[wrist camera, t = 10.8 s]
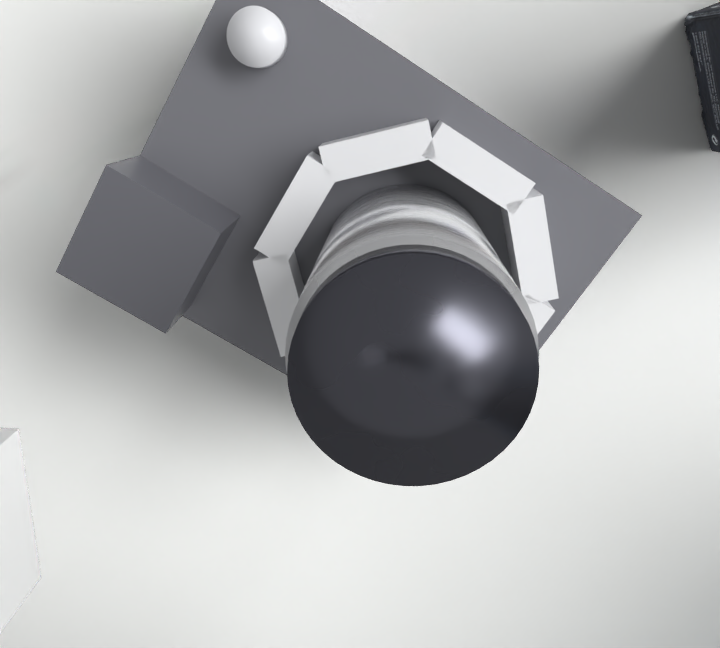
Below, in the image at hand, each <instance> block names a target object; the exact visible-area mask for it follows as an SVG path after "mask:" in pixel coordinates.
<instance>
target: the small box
mask: <svg viewBox="0 0 720 648" xmlns="http://www.w3.org/2000/svg"><path fill="white" fill-rule="evenodd" d="M684 25H685V26H686V31H685V32H686V35H687V38H688V40H689V42H690V45H691V56H692V57H693V61H694V67H695V72H696V77H697V83H698V87H699V96H700V99H701V105H702V118H703V122H704V125H705V129H706V132H707V136H708V139H709V144H710V148H711V150H712V151H716V152H720V2H719V3H716V4H714V5H711V6H709V7H706V8H704V9H701V10H698V11H695V12H692V13H689V14H688V15H687V18H686V19H685V23H684Z"/></svg>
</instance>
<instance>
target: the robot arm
mask: <svg viewBox="0 0 720 648" xmlns="http://www.w3.org/2000/svg"><path fill="white" fill-rule="evenodd" d="M40 578H41V571H40V564H39V558H38V551H37V544H36V538H35V531H34V525H33V518H32V511H31V505H30V498H29V492H28V485H27V479H26V472H25V465H24V459H23V452H22V446H21V439H20V433H19V429H17V428H0V633H1V632H2V631H3V629H4V628H5V627H6V625H7V624H8V622H9V621H10V620H11V618H12V617H13V616H14V614H15V613H16V611H17V610H18V609H19V607H20V606H21V605H22V603H23V602H24V600H25V599H26V598H27V596H28V595H29V594H30V592H31V591H32V589H33V588H34V587H35V585H36V584H37V583H38V581H39V580H40Z"/></svg>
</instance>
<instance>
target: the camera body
mask: <svg viewBox="0 0 720 648" xmlns="http://www.w3.org/2000/svg"><path fill="white" fill-rule="evenodd" d="M396 184H416V185H423V186H427V187H431V188H434V189H436V190H439V191H441V192H443V193H445V194H447V195H449V196H451V197H452V198H454V199H455V200H456V201H458V202H459V203H460V204H461V205H462V206H463V207H464V208H465V209H466V210H467V211H468V212H469V213H470V214H471V215H472V217H473V218H474V219H475V221H476V222H477V224H478V225H479V227H480V229H481V230H482V232H483V233H484V235H485V236H486V238H487V240H488V241H489V243H490V244H491V246H492V247H493V249H494V251H495V252H496V254H497V255H498V257H499V258H500V260H501V262H502V263H503V265H504V266H505V268H506V269H507V271H508V273H509V274H510V276H511V277H512V279H513V280H514V282H515V284H516V285H517V287H518V288H519V290H520V291H521V293H522V295H523V297H524V298H525V300H526V302H527V304H528V306H529V308H530V311H531V313H532V316H533V319H534V322H535V326H536V330H537V335H538V345H539V349H540V348H541V347H542V345H543V344H544V343H545V342H546V340H547V339H548V338H549V336H550V335H551V334H552V332H553V331H554V330H555V329H556V327H557V326H558V325H559V323H560V322H561V321H562V319H563V318H564V317H565V315H566V314H567V313H568V312H569V310H570V309H571V308H572V306H573V305H574V304H575V302H576V301H577V300H578V298H579V297H580V296H581V295H582V293H583V292H584V291H585V289H586V288H587V287H588V285H589V284H590V283H591V282H592V280H593V279H594V278H595V276H596V275H597V274H598V272H599V271H600V270H601V268H602V267H603V266H604V265H605V263H606V262H607V261H608V259H609V258H610V257H611V255H612V254H613V253H614V251H615V250H616V249H617V248H618V246H619V245H620V244H621V242H622V241H623V240H624V238H625V237H626V236H627V234H628V233H629V232H630V231H631V229H632V228H633V227H634V225H635V224H636V223H637V221H638V220H639V219H640V218H641V216H642V215H641V214H639V213H638V212H636V211H635V210H633V209H632V208H630V207H629V206H627V205H626V204H624V203H623V202H621V201H620V200H618V199H617V198H615V197H614V196H612V195H611V194H609V193H608V192H606V191H605V190H603V189H602V188H600V187H598V186H597V185H595V184H594V183H592V182H591V181H589V180H588V179H586V178H585V177H583V176H582V175H580V174H579V173H577V172H576V171H574V170H573V169H571V168H570V167H568V166H567V165H565V164H564V163H562V162H561V161H559V160H558V159H556V158H555V157H553V156H552V155H550V154H549V153H547V152H546V151H544V150H543V149H541V148H540V147H538V146H537V145H535V144H534V143H532V142H531V141H529V140H528V139H526V138H525V137H523V136H522V135H520V134H519V133H517V132H516V131H514V130H513V129H511V128H510V127H508V126H507V125H505V124H504V123H502V122H501V121H499V120H498V119H496V118H495V117H493V116H492V115H490V114H489V113H487V112H486V111H484V110H483V109H481V108H480V107H478V106H477V105H475V104H474V103H472V102H471V101H469V100H468V99H466V98H465V97H463V96H462V95H460V94H459V93H457V92H456V91H454V90H453V89H451V88H450V87H448V86H447V85H445V84H444V83H442V82H441V81H439V80H438V79H436V78H435V77H433V76H432V75H430V74H429V73H427V72H426V71H424V70H423V69H421V68H420V67H418V66H417V65H415V64H414V63H412V62H411V61H409V60H408V59H406V58H405V57H403V56H402V55H400V54H399V53H397V52H396V51H394V50H393V49H391V48H390V47H388V46H387V45H385V44H384V43H382V42H381V41H379V40H378V39H376V38H375V37H373V36H372V35H370V34H369V33H367V32H366V31H364V30H363V29H361V28H360V27H358V26H357V25H355V24H354V23H352V22H351V21H349V20H348V19H346V18H345V17H343V16H342V15H340V14H339V13H337V12H336V11H334V10H333V9H331V8H330V7H328V6H327V5H325V4H324V3H322V2H321V1H319V0H216V1H215V3H214V5H213V7H212V9H211V11H210V13H209V15H208V17H207V19H206V21H205V24H204V26H203V28H202V30H201V32H200V34H199V36H198V38H197V40H196V42H195V44H194V46H193V48H192V50H191V52H190V54H189V56H188V58H187V60H186V63H185V65H184V67H183V69H182V71H181V73H180V75H179V77H178V79H177V81H176V83H175V85H174V87H173V89H172V91H171V93H170V95H169V97H168V99H167V101H166V104H165V106H164V108H163V110H162V112H161V114H160V116H159V118H158V120H157V122H156V124H155V126H154V128H153V130H152V132H151V134H150V136H149V138H148V140H147V142H146V145H145V147H144V149H143V151H142V153H141V155H140V156H137V157H133V158H129V159H126V160H122V161H119V162H115V163H111V164H108V165H106V167H105V169H104V171H103V173H102V175H101V178H100V180H99V182H98V184H97V186H96V188H95V190H94V192H93V194H92V197H91V199H90V201H89V203H88V205H87V207H86V209H85V211H84V213H83V216H82V218H81V220H80V222H79V224H78V226H77V228H76V230H75V233H74V235H73V237H72V239H71V241H70V243H69V245H68V247H67V249H66V252H65V254H64V256H63V258H62V260H61V262H60V264H59V266H58V268H57V271H56V272H57V273H59V274H61V275H63V276H65V277H66V278H68V279H70V280H72V281H73V282H75V283H77V284H79V285H81V286H82V287H84V288H86V289H88V290H89V291H91V292H93V293H95V294H97V295H98V296H100V297H102V298H104V299H105V300H107V301H109V302H111V303H113V304H114V305H116V306H118V307H120V308H121V309H123V310H125V311H127V312H129V313H130V314H132V315H134V316H136V317H137V318H139V319H141V320H143V321H144V322H146V323H148V324H150V325H152V326H153V327H155V328H157V329H159V330H160V331H162V332H164V333H167V332H168V331H169V329H170V328H171V327H172V326H173V325H174V324H175V323H176V322H177V321H178V319H179V318H180V317H181V316H184V317H186V318H188V319H189V320H191V321H193V322H195V323H196V324H198V325H200V326H202V327H203V328H205V329H207V330H209V331H210V332H212V333H214V334H216V335H217V336H219V337H221V338H223V339H224V340H226V341H228V342H230V343H231V344H233V345H235V346H237V347H238V348H240V349H242V350H244V351H245V352H247V353H249V354H251V355H253V356H254V357H256V358H258V359H260V360H261V361H263V362H265V363H267V364H268V365H270V366H272V367H274V368H275V369H277V370H279V371H281V372H282V373H284V374H286V375H287V371H286V361H285V347H286V337H287V332H288V327H289V323H290V320H291V318H292V315H293V312H294V309H295V307H296V305H297V303H298V300H299V298H300V296H301V294H302V292H303V290H304V287H305V285H306V283H307V281H308V279H309V276H310V274H311V272H312V270H313V268H314V265H315V263H316V261H317V259H318V257H319V255H320V252H321V250H322V248H323V246H324V244H325V241H326V239H327V237H328V235H329V233H330V231H331V229H332V227H333V225H334V223H335V222H336V220H337V219H338V218H339V216H340V215H341V214H342V213H343V212H344V211H345V209H346V208H347V207H348V206H349V205H351V204H352V203H353V202H354V201H356V200H357V199H358V198H360V197H362V196H363V195H365V194H367V193H369V192H371V191H373V190H376V189H378V188H382V187H385V186H390V185H396Z"/></svg>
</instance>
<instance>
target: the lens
mask: <svg viewBox="0 0 720 648" xmlns="http://www.w3.org/2000/svg"><path fill="white" fill-rule="evenodd" d="M538 360H539V345H538V335H537V330H536V326H535V322H534V319H533V316H532V313H531V311H530V308H529V306H528V304H527V302H526V300H525V298H524V297H523V295H522V293H521V291H520V290H519V288H518V287H517V285H516V284H515V282H514V280H513V279H512V277H511V276H510V274H509V273H508V271H507V269H506V268H505V266H504V265H503V263H502V262H501V260H500V258H499V257H498V255H497V254H496V252H495V251H494V249H493V247H492V246H491V244H490V243H489V241H488V240H487V238H486V236H485V235H484V233H483V232H482V230H481V229H480V227H479V225H478V224H477V222H476V221H475V219H474V218H473V217H472V215H471V214H470V213H469V212H468V211H467V210H466V209H465V208H464V207H463V206H462V205H461V204H460V203H459V202H458V201H456V200H455V199H454V198H452V197H451V196H449V195H447V194H445V193H443V192H441V191H439V190H436V189H434V188H431V187H427V186H423V185H416V184H396V185H390V186H385V187H382V188H378V189H376V190H373V191H371V192H369V193H367V194H365V195H363V196H362V197H360V198H358V199H357V200H356V201H354V202H353V203H352V204H351V205H349V206H348V207H347V208H346V209H345V211H344V212H343V213H342V214H341V215H340V216H339V218H338V219H337V220H336V222H335V223H334V225H333V227H332V229H331V231H330V233H329V235H328V237H327V239H326V241H325V244H324V246H323V248H322V250H321V252H320V255H319V257H318V259H317V261H316V263H315V265H314V268H313V270H312V272H311V274H310V276H309V279H308V281H307V283H306V285H305V287H304V290H303V292H302V294H301V296H300V298H299V300H298V303H297V305H296V307H295V309H294V312H293V315H292V318H291V320H290V323H289V327H288V332H287V337H286V347H285V361H286V371H287V377H288V387H289V392H290V397H291V401H292V404H293V407H294V409H295V412H296V415H297V417H298V418H299V420H300V422H301V424H302V426H303V428H304V429H305V431H306V432H307V434H308V435H309V436H310V438H311V439H312V440H313V441H314V443H315V444H316V445H317V446H318V447H319V448H320V449H321V450H322V451H323V452H324V453H325V454H326V455H328V456H329V457H330V458H331V459H332V460H334V461H335V462H337V463H338V464H340V465H341V466H343V467H344V468H346V469H348V470H350V471H352V472H354V473H356V474H358V475H360V476H363V477H365V478H368V479H371V480H374V481H378V482H382V483H387V484H392V485H401V486H424V485H432V484H438V483H443V482H447V481H451V480H454V479H457V478H460V477H462V476H465V475H467V474H469V473H471V472H473V471H475V470H477V469H479V468H481V467H482V466H484V465H485V464H487V463H488V462H490V461H492V460H493V459H494V458H495V457H496V456H498V455H499V454H500V453H501V452H502V451H503V450H504V449H505V448H506V447H507V446H508V445H509V444H510V443H511V442H512V441H513V440H514V438H515V437H516V436H517V434H518V433H519V431H520V430H521V428H522V427H523V425H524V423H525V422H526V420H527V418H528V416H529V414H530V411H531V409H532V406H533V403H534V400H535V397H536V392H537V387H538V378H539V362H538Z"/></svg>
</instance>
